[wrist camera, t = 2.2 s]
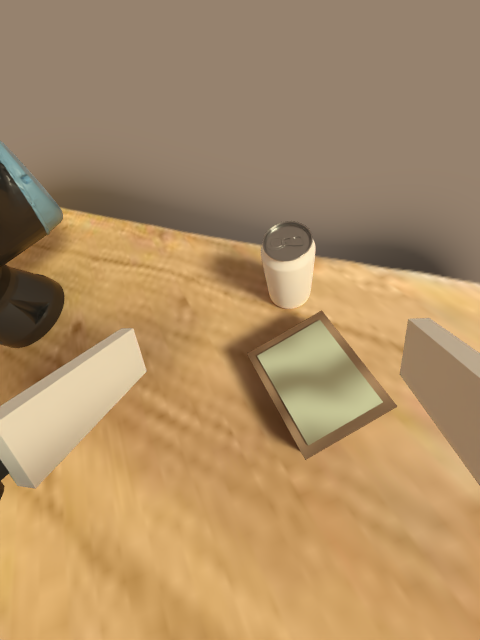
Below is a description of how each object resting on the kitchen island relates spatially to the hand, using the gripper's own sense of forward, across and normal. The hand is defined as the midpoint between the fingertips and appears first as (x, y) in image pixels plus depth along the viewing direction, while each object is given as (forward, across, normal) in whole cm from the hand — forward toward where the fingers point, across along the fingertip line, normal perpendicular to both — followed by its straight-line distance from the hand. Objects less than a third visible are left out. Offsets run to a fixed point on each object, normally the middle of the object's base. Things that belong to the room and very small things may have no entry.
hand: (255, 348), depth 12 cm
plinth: (+17, +4, -15) cm, 23 cm away
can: (+27, +1, -5) cm, 28 cm away
